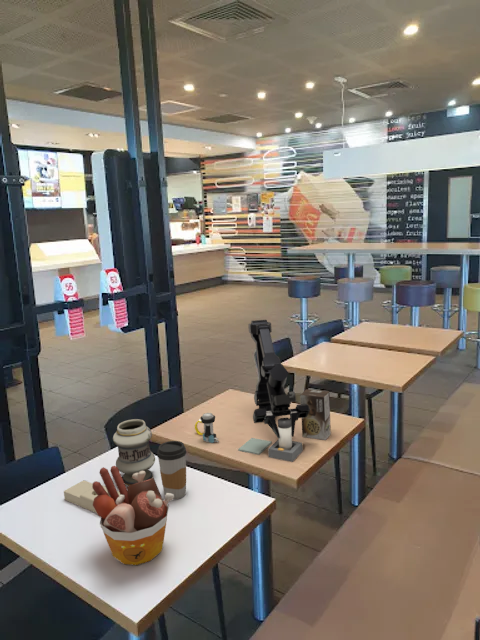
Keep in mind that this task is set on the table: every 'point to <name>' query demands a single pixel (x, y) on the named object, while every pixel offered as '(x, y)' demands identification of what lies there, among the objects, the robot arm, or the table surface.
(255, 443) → the rubber mat
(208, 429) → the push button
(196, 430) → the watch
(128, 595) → the table surface
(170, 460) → the coffee cup
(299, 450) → the grey square holder
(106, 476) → the bucket of meat
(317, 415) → the coffee box
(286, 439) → the white capped cylinder
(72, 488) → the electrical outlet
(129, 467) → the apothecary jar
